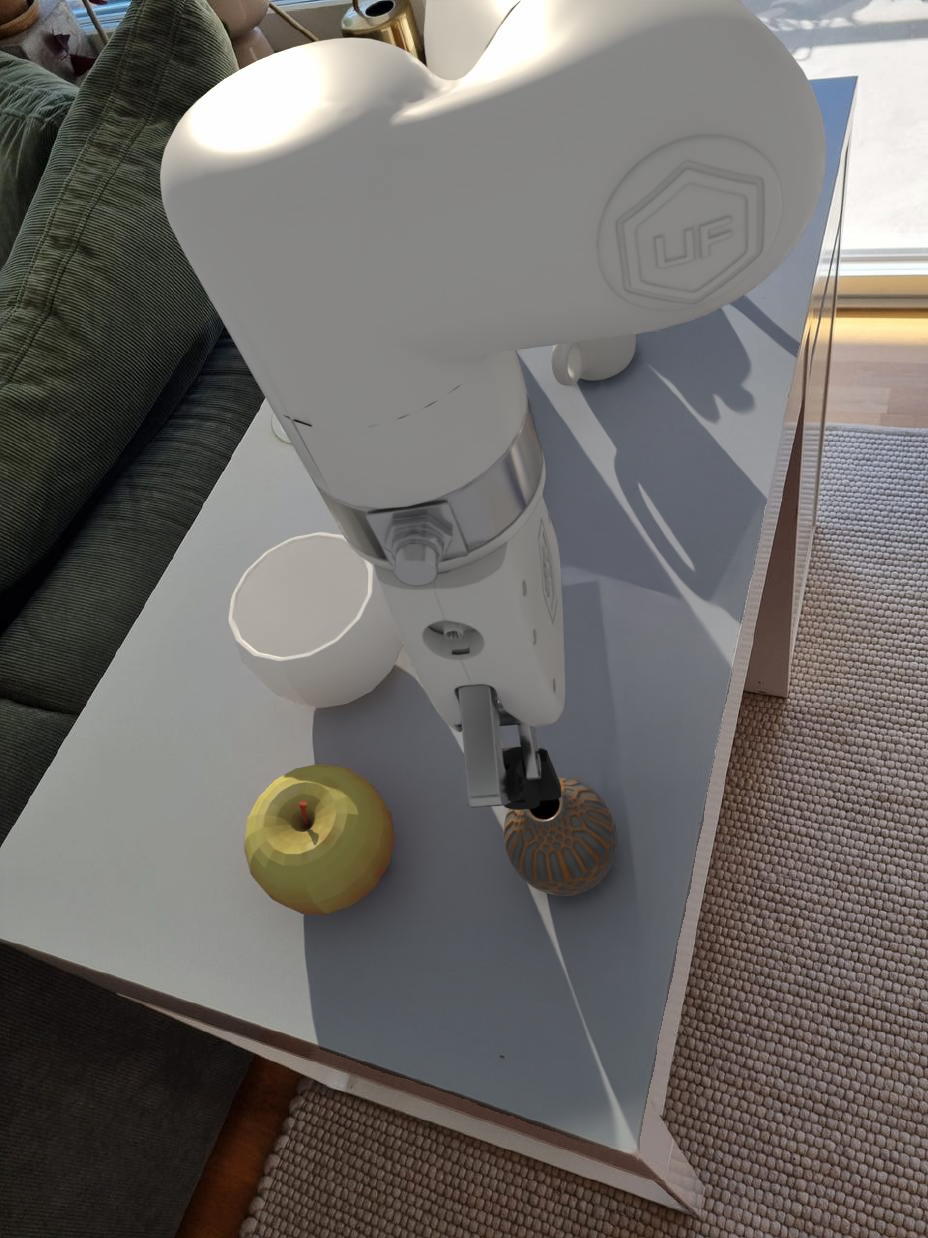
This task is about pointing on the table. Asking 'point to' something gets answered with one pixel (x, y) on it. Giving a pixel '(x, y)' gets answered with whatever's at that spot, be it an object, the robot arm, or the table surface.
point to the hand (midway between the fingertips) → (526, 701)
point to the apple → (319, 839)
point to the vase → (562, 841)
